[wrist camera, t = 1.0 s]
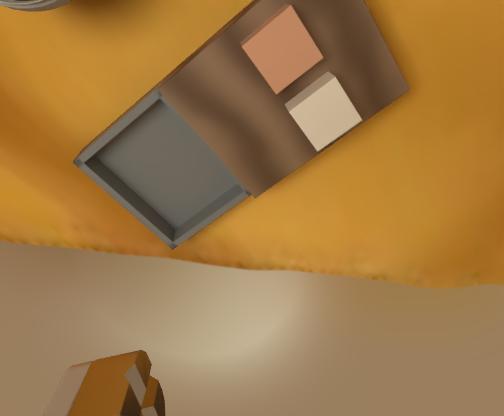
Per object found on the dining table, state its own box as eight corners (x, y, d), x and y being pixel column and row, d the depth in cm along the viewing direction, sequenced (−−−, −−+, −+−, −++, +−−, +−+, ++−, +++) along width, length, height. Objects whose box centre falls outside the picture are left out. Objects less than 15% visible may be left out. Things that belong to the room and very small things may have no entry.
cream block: (328, 71, 35) (335, 76, 33) (353, 112, 38) (362, 120, 35) (284, 104, 37) (288, 111, 34) (312, 142, 39) (317, 151, 37)
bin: (164, 77, 39) (159, 85, 36) (251, 178, 46) (254, 192, 43) (82, 149, 42) (72, 162, 39) (175, 232, 49) (172, 249, 46)
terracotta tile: (286, 3, 32) (291, 5, 30) (316, 53, 34) (323, 57, 32) (240, 42, 33) (241, 46, 31) (272, 87, 36) (276, 94, 34)
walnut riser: (317, -56, 34) (331, -62, 30) (389, 78, 41) (410, 89, 37) (164, 77, 39) (158, 89, 35) (251, 178, 46) (254, 198, 42)
